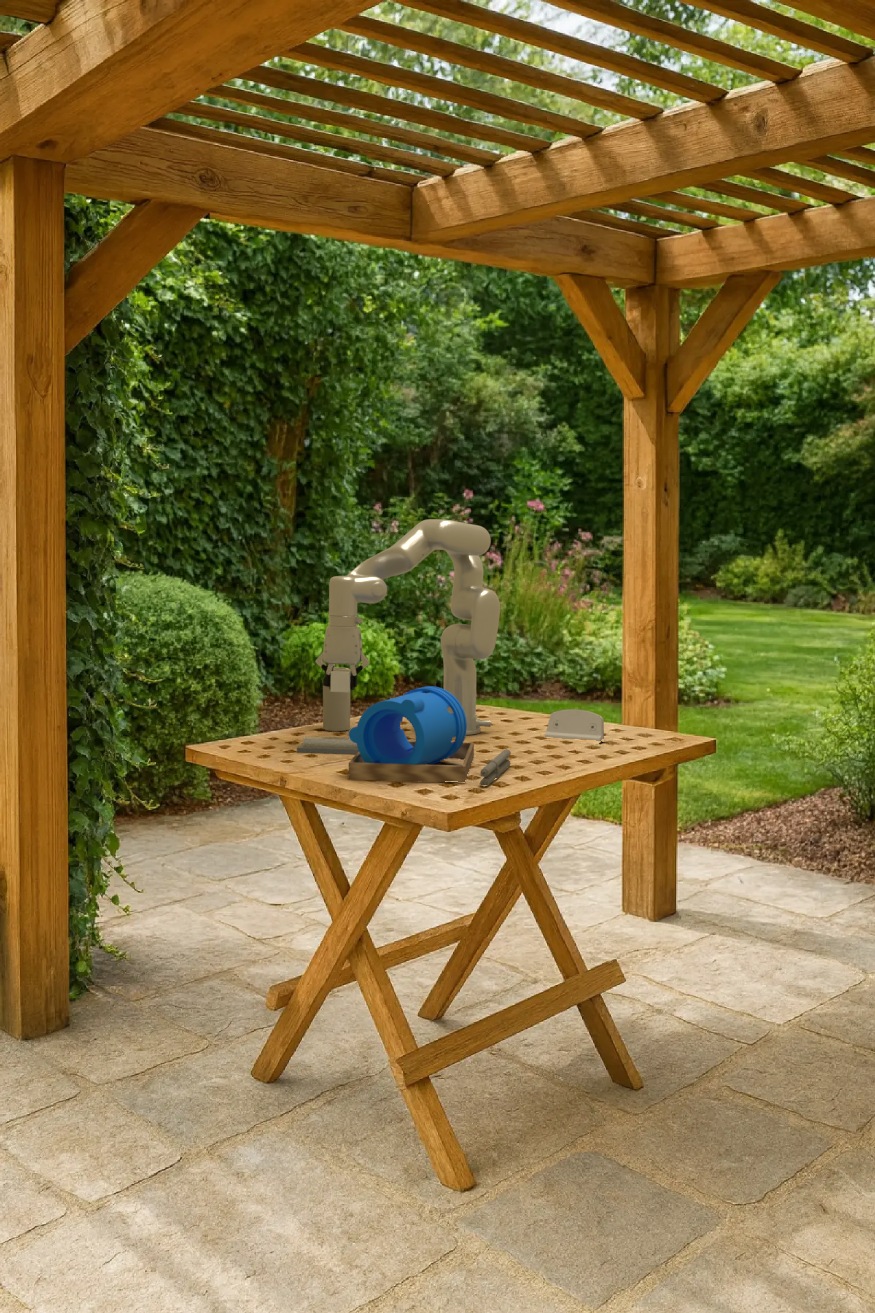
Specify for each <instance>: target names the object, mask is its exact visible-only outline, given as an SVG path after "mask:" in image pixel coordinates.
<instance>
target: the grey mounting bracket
mask: <svg viewBox="0 0 875 1313" xmlns="http://www.w3.org/2000/svg"><path fill="white" fill-rule="evenodd" d="M604 724H605V723H604V717H602V716H601V715H600V714H597V713H595V712H592V711H589V710H586V709H585V710H584V709H577V708H576V709H574V708H566V709H562V710H561V709H560V710H556V711H553V712H551V713H550V716H549V719H548V724H547V727H546V732H545V734H544V738H545V737H553V738H562V739H586V740H596V741H601V740H602V739H604V740H605V726H604Z"/></svg>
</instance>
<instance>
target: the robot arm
mask: <svg viewBox="0 0 875 1313" xmlns="http://www.w3.org/2000/svg"><path fill="white" fill-rule="evenodd" d="M491 540H492V539H491V535H490V533H489V531H488V530H487V529H486V528H485V527H483V526H481V525H477V524H471V523H465V522H460V521H456V520H450V519H443V518H441V519H440V518H437V519H433V518H430V519H424V520H422V521H420V522H419V523H417V524H416V525H415V526H414V527H413V528H411V529H410V530H409V531H408V532H406V533H405V535H403V536H402V537H401V538H400V539H399V540H397V541H396V542H395V543H394V544H392V545H391V546H390V547H388V548H386V549H384V550H382V551H380V552H379V553H376V554H374V555H373V556H371V557H369V558H367V559H365V560H363V561H362V562H361V563H359V564H358V565H356V567H355V568H354V569H353V570H351V571H350V572H349V573H348V574H347V575H338V576H337V575H336V576H333V577H331V578H330V579H329V586H328V587H329V588H328V590H329V591H328V592H329V593H328V594H329V595H328V596H329V597H328V601H329V603H328V605H329V606H328V626H326V629H325V633H324V641H323V648H322V649H323V650H322V652H321V653H320V655H318V657H317V658H316V659H315V661H314V662H315V664H316V665H318V666H319V667H320V668H321V669H322V671H324V673H325V672H326V674H327V675H328V686H330V687H329V689H330V690H331V671H333V669H334V668H335V667H336V665H347V666H349V669H350V670H351V671H352V675H351V676H350V691H355V689H356V688H357V686H358V674H359V673H360V672H362V670H364V669H365V668H366V667H368V666H369V665H370V660H369V659H368V658H367V656H366V655H365V654H364V653H363V640H362V631H361V628H360V627H359V626H358V625H360V624H363V618H360V617H358V603H364V604H377V603H380V602H381V601H383V600H384V599H385V597H386V596H387V594H388V587H387V584H386V582H385V581H384V580H385V579H388V578H391V577H395V576H400V575H402V574H406V573H408V572H410V571H412V570H413V569H414V568H415V567H416V566H419V564H420V563H421V562H422V561H423V560H424V559H425V558H427V557H428V556H429V555H430V554H432V552H434V551H436V550H440V551H445V553H447V555H448V556H449V558H450V560H451V561H452V564H453V568H454V570H453V582H452V583H453V584H452V591H451V596H450V597H451V598H450V611H451V614H452V615H453V616H454V617H455V618H457V619H461V620H464V621H465V620H466V621H470V624H464V623H453V624H450V625H448V626H447V627H446V628H445V629H444V630H443V632H442V634H441V637H440V649H441V653H442V660H443V689H444V690H446V691H448V692H450V693H451V694H452V695H453V696H454V697H455V698H456V699H457V700H458V701H459V702H460V704H461V706H462V708H463V710H464V712H465V716H466V721H467V731H466V736H469V735H475V734H480V733H481V731H482V729H481V727H485V728H487V727H488V728H489V727H490V728H491V726H492V721H491V720H488V719H479V718H478V714H477V713H476V712H477V667H476V664H475V660H486V659H488V658H489V657H490V656H492V654H493V652H494V650H495V648H496V644H497V637H498V630H499V623H500V617H501V616H500V615H501V602H500V600H499V597H498V595H497V594H496V592H495V591H494V590H492V589H489V588H486V587H483V584H484V565H483V562H482V560H481V555H484V554H486V552H488V550H490V549H489V548H490V546H491ZM361 662H362V663H361ZM359 663H361V664H360V665H358V664H359ZM327 664H328V665H327ZM447 710H448V712H449V713H450V714H452V713H453V711H452V709H451V707H450V706H449V707H447ZM476 714H477V715H476Z"/></svg>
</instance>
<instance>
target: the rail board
mask: <svg viewBox="0 0 875 1313" xmlns="http://www.w3.org/2000/svg"><path fill="white" fill-rule="evenodd" d="M358 752H359V750H358V747H357V743H354V742H352V741H351V740H350V738H349V737H345V736H344V737H343V736H341V737H340V736H339V737H337V736H308V735H307V736H304V737H302V743H301V744H300V745H299V746H297V747H296V753H302V754H303V753H305V754H309V753H310V754H333V755H334V754H335V755H336V754H337V755H340V754H341V755H356V754H357V753H358Z"/></svg>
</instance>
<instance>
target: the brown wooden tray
mask: <svg viewBox="0 0 875 1313" xmlns="http://www.w3.org/2000/svg"><path fill="white" fill-rule="evenodd" d="M408 741H409V743H410V744H411V745H412V746H413V749H414V746H415V742H416V740H408ZM452 742H453V741H451V743H452ZM413 749H412V750H413ZM474 755H475V742H465V741H464V742H463V744H462V746H461V747H460V748H459V750H458V751H457V752H456V753H455V754H454V755H452V756H451V757H449V758H448V759H464V760H463V761H462V765H447V764H446V765H445V764H426V765H419V764H417V765H413V764H387V763H366V762H365V761H364V760H363V758H362V757H361V755H360V753H359V752H358V753H357V754H354V756H353V757H352V759H350V761H349V762H348V780H350V781H375V782H378V781H379V782H381V781H385V782H406V781H407V782H411V783H412V782H413V783H415V782H416V783H419V782H418V781H422V782H421V783H437V782H445V781H458V782H465V780H466V781H467V779H466V777H467V778H468V776H467V774H468V775H469V773H470V770H469V769H471V767H472V764H473V762H472V761H474V759H473V758H474V757H475V756H474ZM471 763H472V764H471ZM470 766H471V767H470ZM468 772H469V773H468ZM465 783H466V782H465Z"/></svg>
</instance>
